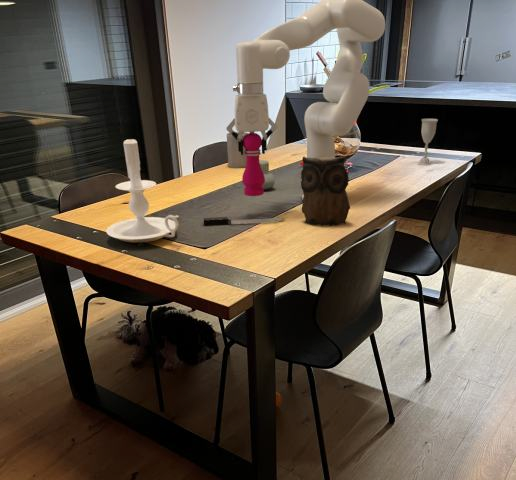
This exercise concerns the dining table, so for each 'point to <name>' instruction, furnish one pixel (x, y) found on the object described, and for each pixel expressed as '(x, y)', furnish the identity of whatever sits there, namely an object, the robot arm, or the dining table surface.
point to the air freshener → (266, 175)
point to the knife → (237, 221)
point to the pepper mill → (253, 165)
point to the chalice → (427, 136)
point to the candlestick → (140, 206)
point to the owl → (325, 191)
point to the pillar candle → (235, 152)
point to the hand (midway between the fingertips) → (252, 153)
